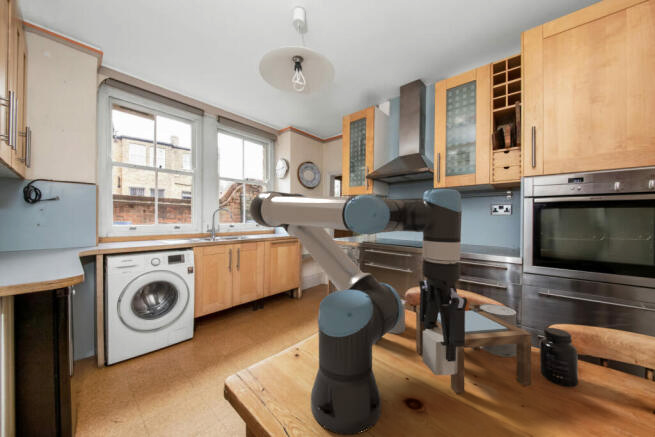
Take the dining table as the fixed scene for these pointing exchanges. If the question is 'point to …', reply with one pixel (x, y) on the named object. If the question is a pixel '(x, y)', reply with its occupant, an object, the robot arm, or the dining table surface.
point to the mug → (400, 322)
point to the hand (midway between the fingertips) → (438, 364)
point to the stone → (434, 350)
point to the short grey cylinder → (507, 316)
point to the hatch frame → (486, 339)
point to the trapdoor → (478, 324)
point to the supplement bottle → (559, 358)
